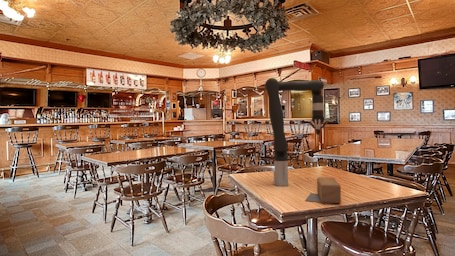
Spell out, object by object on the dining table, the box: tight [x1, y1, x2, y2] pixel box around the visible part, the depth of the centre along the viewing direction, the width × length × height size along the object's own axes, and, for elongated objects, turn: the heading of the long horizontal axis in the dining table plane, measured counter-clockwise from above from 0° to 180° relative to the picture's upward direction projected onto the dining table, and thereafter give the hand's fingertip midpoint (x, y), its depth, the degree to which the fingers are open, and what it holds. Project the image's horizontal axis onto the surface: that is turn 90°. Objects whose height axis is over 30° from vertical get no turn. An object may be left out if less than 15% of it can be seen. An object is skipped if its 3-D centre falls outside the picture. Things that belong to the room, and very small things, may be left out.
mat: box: [304, 192, 333, 205], centre depth 154 cm, size 14×17×1 cm
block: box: [316, 176, 342, 204], centre depth 152 cm, size 10×10×20 cm
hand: (318, 134), depth 186 cm, fingers closed
